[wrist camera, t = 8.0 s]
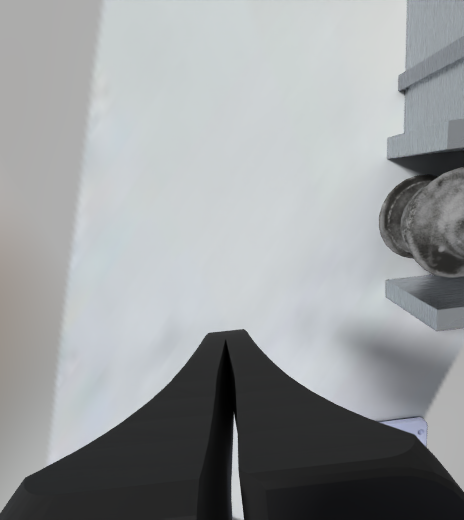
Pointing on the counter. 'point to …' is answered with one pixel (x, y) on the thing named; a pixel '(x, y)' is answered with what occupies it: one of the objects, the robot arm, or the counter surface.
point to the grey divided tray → (432, 137)
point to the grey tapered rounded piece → (427, 222)
